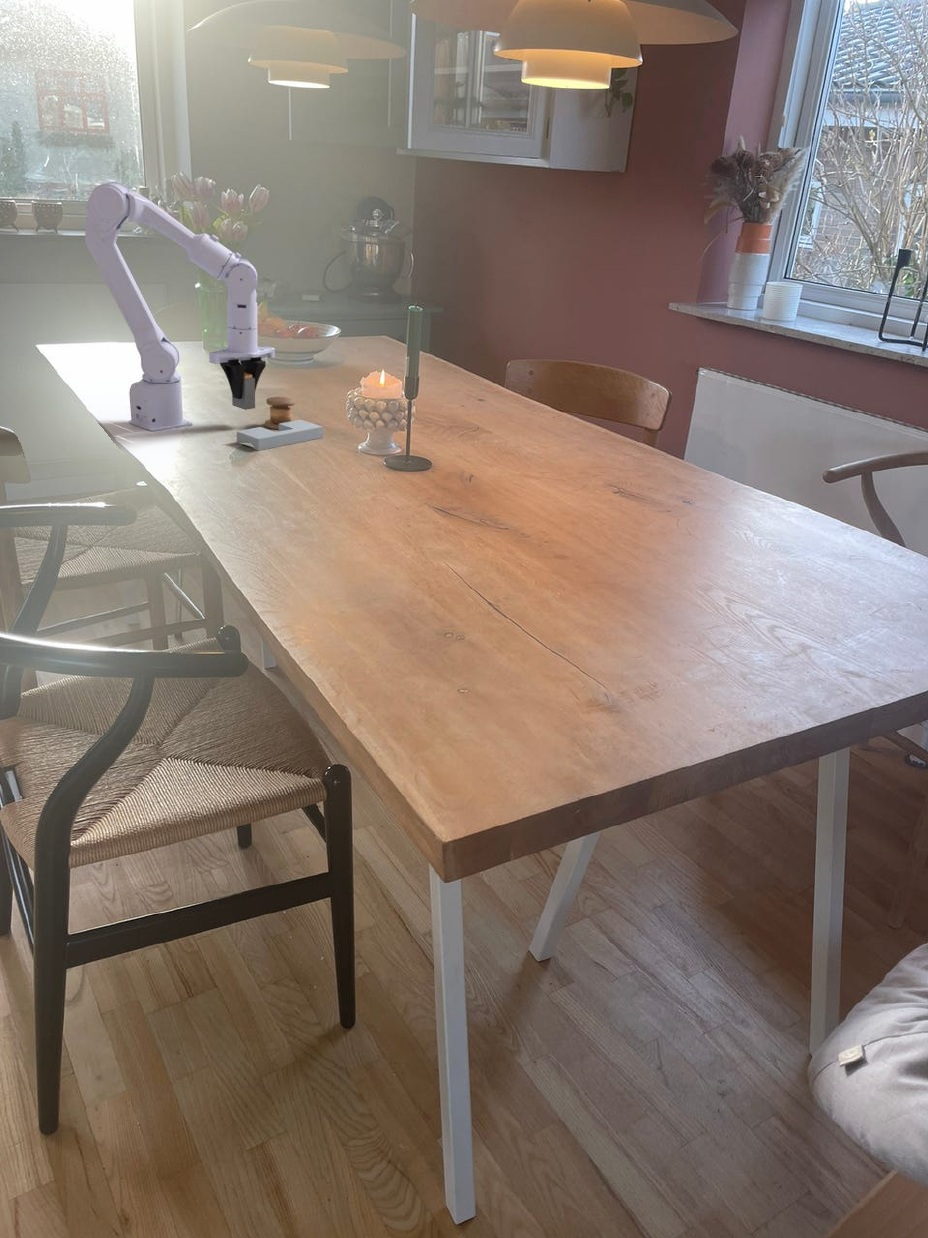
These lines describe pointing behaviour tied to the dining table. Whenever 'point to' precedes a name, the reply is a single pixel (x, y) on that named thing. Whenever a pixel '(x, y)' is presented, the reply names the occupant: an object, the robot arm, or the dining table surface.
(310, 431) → the board
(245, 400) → the grey rectangular block
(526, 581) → the dining table surface
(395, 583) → the dining table surface
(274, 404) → the tan wooden yo-yo
